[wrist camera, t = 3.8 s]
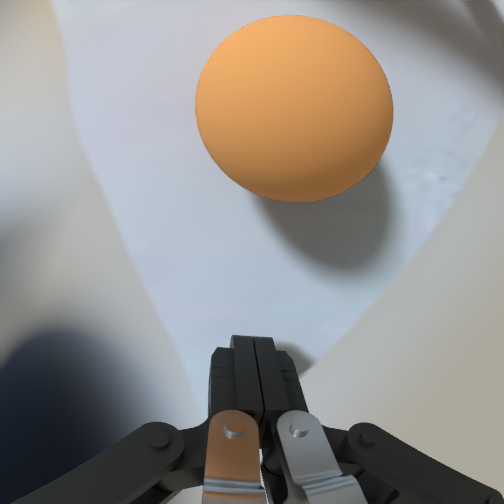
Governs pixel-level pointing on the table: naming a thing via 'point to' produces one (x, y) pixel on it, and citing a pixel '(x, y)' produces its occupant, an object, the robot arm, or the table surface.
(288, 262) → the table surface
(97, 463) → the robot arm
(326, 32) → the ball
